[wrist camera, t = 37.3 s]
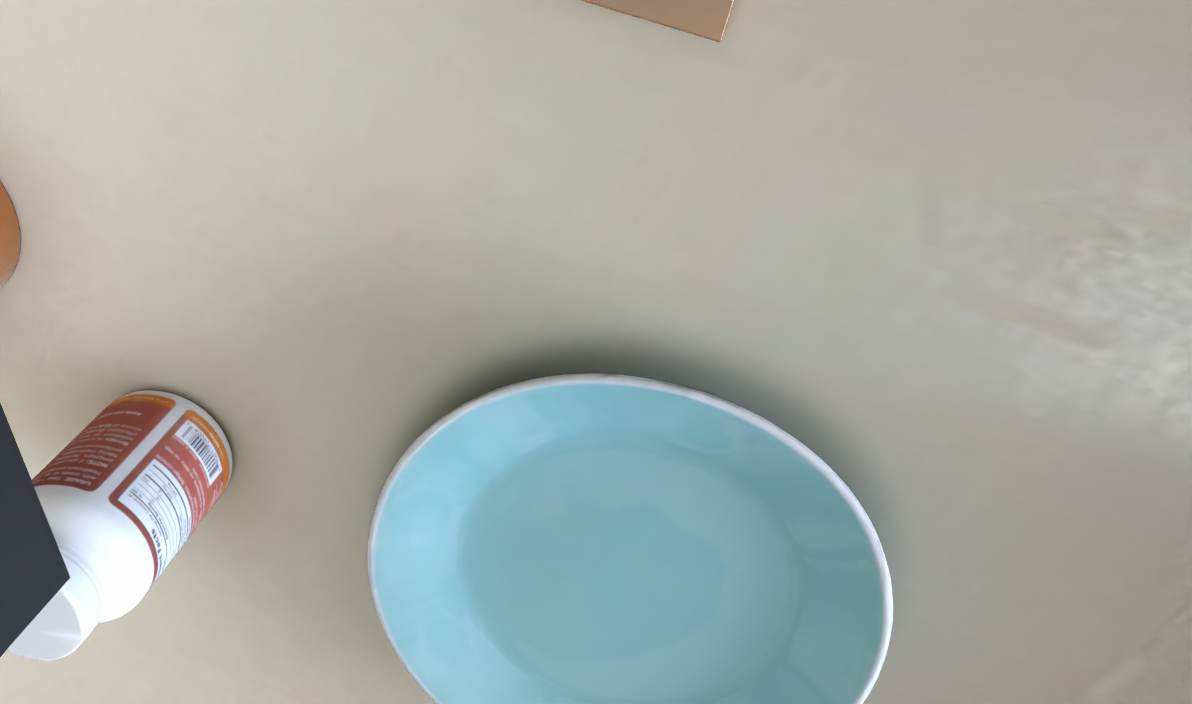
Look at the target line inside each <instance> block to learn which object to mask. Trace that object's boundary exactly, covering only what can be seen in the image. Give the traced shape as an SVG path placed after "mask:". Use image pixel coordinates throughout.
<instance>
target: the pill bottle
mask: <svg viewBox="0 0 1192 704" xmlns="http://www.w3.org/2000/svg"><path fill="white" fill-rule="evenodd" d="M232 463H233V461H232V453H231V449H230V446H229V443H228V440H227V438H226V436H225V434H224V433H223V431H222V429H221V428H220V426H219V425H218V424H217V422H216V421H215V420H214V419H213V418H212V417H211V416H210V415H209V414H208V413H207V412H206V411H205V410H203V409H202V408H201V407H199V406H198V405H196V404H194V403H193V402H191V401H189V400H187V399H185V398H183V397H180V396H178V395H175V394H171V393H168V392H162V391H153V390H146V391H136V392H132V393H129V394H126V395H124V396H122V397H120V398H118V399H117V400H115V401H114V402H112V403H111V404H110V405H109V406H108V407H106V408H105V409H104V410H103V411H102V412H101V413H100V414H99V415H98V416H97V417H96V418H95V419H94V420H93V421H92V422H91V423H90V424H89V425H88V426H87V427H86V428H85V429H84V430H83V431H82V432H81V433H80V434H79V435H78V436H76V437H75V438H74V439H73V440H72V441H71V442H70V443H69V444H68V445H67V446H66V447H65V448H64V449H63V450H62V451H61V452H60V453H59V454H58V455H57V456H56V457H55V458H54V459H53V460H52V461H51V462H50V463H49V464H48V465H47V466H46V467H45V468H44V469H43V470H42V471H41V472H40V473H39V474H38V475H36V476H35V477H34V478H33V479H32V480H31V481H32V483H33V485H34V488H35V490H36V493H37V495H38V498H39V500H40V503H41V505H42V508H43V510H44V513H45V515H46V518H47V520H48V523H49V525H50V528H51V530H52V533H53V535H54V538H55V540H56V543H57V545H58V548H59V550H60V553H61V555H62V557H63V560H64V562H65V565H66V567H67V570H68V572H69V575H70V577H71V578H70V579H69V580H68V581H67V582H66V583H65V584H64V585H63V587H62V588H61V589H60V590H59V591H58V592H57V593H56V594H55V596H54V597H53V598H52V599H51V600H50V601H49V602H48V604H47V605H46V606H45V607H44V608H43V609H42V610H41V611H40V613H39V614H38V615H37V616H36V617H35V618H34V619H33V621H32V622H31V623H30V624H29V625H28V626H27V627H26V628H25V630H24V631H23V632H22V633H21V634H20V635H19V636H18V637H17V639H16V640H15V641H14V642H13V643H12V644H11V645H10V647H9V648H8V649H7V651H9V652H11V653H14V654H16V655H19V656H22V657H25V658H30V659H36V660H55V659H59V658H62V657H65V656H67V655H69V654H71V653H72V652H74V651H75V650H76V649H77V648H78V647H79V646H80V645H81V643H82V642H83V641H84V640H85V639H86V638H87V636H88V635H89V634H90V633H91V631H92V630H93V629H94V627H95V626H96V624H97V623H102V622H106V621H110V620H113V619H116V618H118V617H120V616H122V615H124V614H126V613H127V612H129V611H130V610H131V609H133V608H134V607H135V606H136V605H137V604H138V603H139V602H140V600H141V599H142V598H143V597H144V595H145V594H146V593H147V592H148V590H149V589H150V588H151V587H152V585H153V584H154V583H155V581H156V580H157V579H158V577H159V576H160V575H161V573H162V572H163V571H164V569H165V568H166V567H167V565H168V564H169V563H170V561H171V560H172V559H173V557H174V556H175V555H176V553H177V552H178V551H179V550H180V548H181V547H182V546H183V544H184V543H185V542H186V540H187V539H188V538H189V536H190V535H191V534H192V532H193V531H194V530H195V529H196V527H197V526H198V524H199V523H200V522H201V521H202V519H203V518H204V517H205V515H206V514H207V513H208V511H209V510H210V509H211V507H212V506H213V505H214V503H215V502H216V501H217V500H218V498H219V497H220V495H221V494H222V492H223V491H224V490H225V488H226V486H227V485H228V482H229V480H230V477H231V473H232Z"/></svg>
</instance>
